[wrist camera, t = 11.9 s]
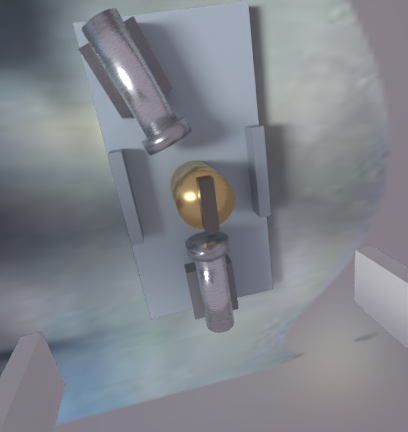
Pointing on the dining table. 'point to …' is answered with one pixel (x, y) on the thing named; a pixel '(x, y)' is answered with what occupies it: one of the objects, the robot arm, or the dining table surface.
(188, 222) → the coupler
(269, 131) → the dining table surface
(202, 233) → the shaft
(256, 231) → the bench
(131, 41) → the shaft
